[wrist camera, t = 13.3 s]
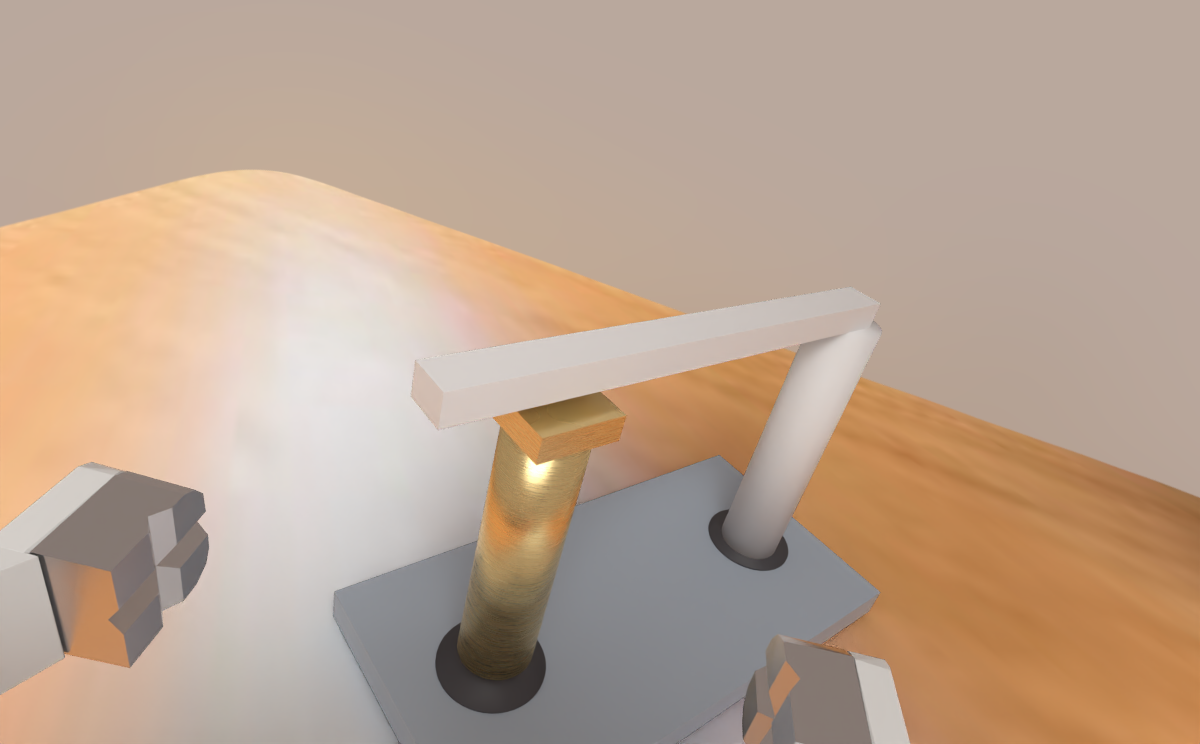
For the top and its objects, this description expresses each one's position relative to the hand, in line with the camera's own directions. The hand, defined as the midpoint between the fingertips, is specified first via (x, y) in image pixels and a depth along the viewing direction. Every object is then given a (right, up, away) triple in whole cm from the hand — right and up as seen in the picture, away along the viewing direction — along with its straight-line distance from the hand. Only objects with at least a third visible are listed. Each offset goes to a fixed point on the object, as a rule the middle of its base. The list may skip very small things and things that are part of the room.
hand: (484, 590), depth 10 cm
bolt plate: (+3, -8, +25) cm, 26 cm away
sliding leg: (-3, -8, +19) cm, 20 cm away
